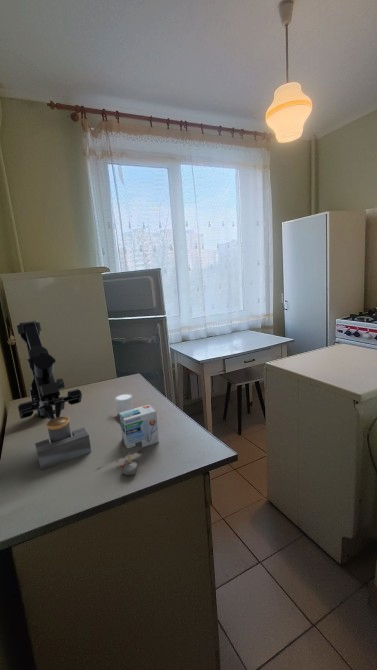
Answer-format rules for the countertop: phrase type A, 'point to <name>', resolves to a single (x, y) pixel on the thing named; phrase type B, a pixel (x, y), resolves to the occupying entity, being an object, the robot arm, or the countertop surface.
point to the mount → (63, 449)
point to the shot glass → (124, 402)
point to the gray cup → (58, 429)
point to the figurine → (128, 466)
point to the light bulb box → (139, 426)
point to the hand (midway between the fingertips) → (57, 426)
